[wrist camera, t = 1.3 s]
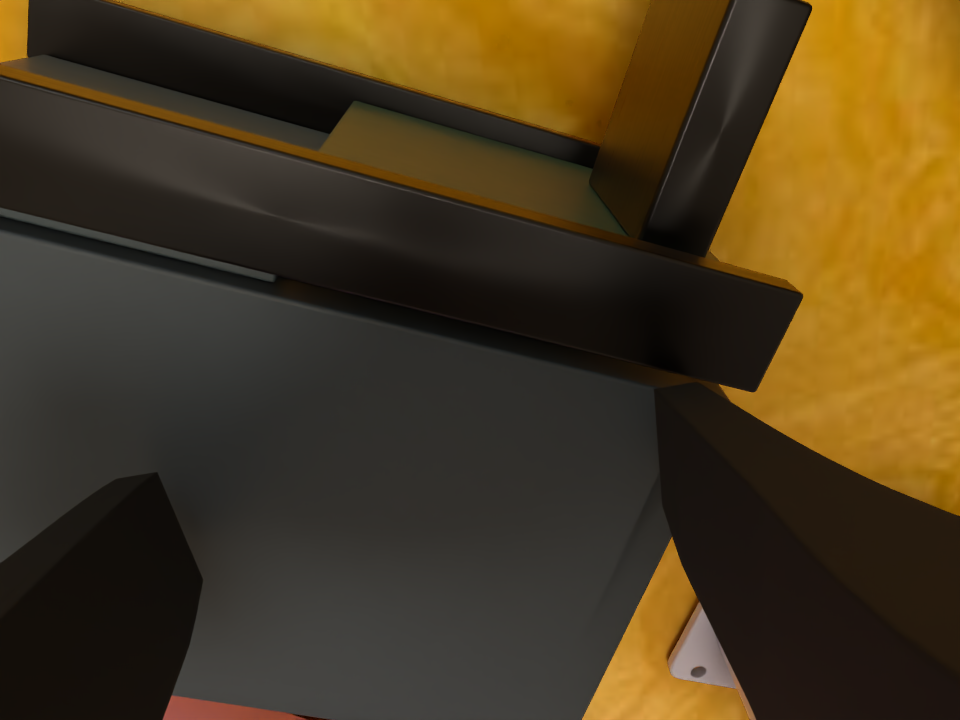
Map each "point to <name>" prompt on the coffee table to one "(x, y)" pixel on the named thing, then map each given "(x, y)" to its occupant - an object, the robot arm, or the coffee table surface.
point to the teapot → (218, 711)
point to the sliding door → (623, 130)
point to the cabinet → (340, 373)
